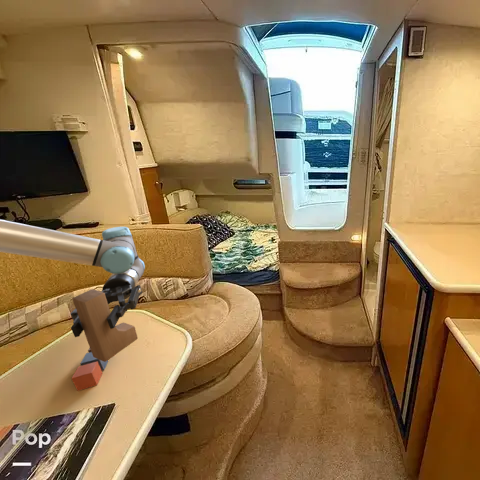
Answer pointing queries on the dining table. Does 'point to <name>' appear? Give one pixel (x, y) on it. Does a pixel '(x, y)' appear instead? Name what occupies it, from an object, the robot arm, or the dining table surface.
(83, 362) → the cube row
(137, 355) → the dining table surface
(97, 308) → the wooden block
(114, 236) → the robot arm
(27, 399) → the dining table surface
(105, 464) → the dining table surface
